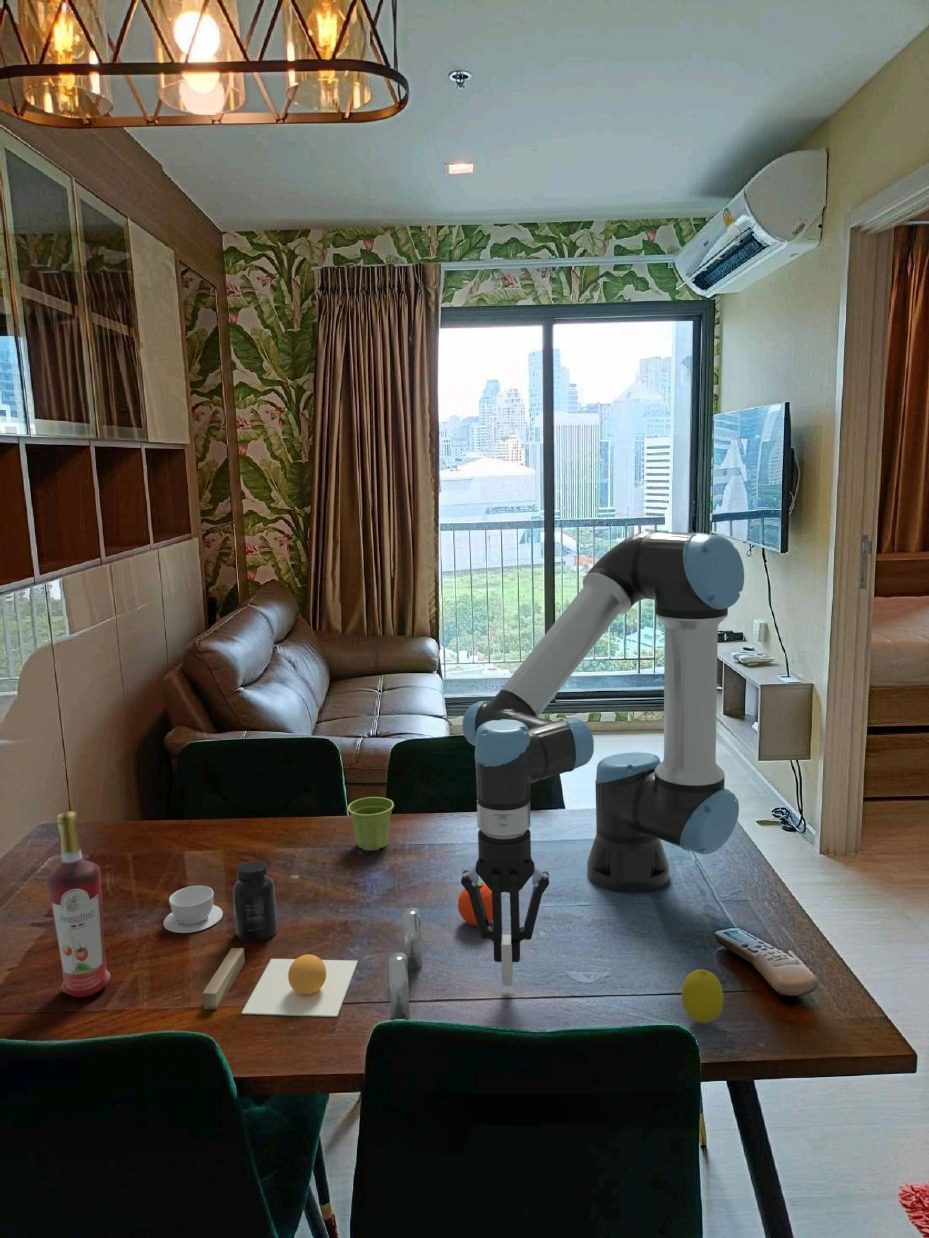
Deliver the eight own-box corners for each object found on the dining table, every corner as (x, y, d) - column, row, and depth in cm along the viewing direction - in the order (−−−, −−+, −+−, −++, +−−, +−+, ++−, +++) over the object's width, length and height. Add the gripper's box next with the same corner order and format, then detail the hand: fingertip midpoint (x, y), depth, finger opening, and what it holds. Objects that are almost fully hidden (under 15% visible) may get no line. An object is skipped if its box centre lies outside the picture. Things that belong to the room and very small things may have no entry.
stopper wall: (245, 962, 138) (243, 948, 138) (217, 1008, 126) (215, 993, 126) (232, 962, 138) (231, 947, 138) (203, 1008, 127) (202, 992, 126)
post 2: (423, 960, 137) (420, 907, 136) (420, 970, 135) (418, 916, 133) (406, 960, 137) (404, 907, 136) (404, 969, 135) (401, 916, 133)
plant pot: (393, 854, 176) (391, 813, 174) (346, 855, 176) (344, 814, 174) (397, 835, 185) (395, 796, 183) (353, 836, 185) (351, 797, 184)
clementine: (449, 915, 151) (448, 877, 150) (486, 906, 154) (485, 869, 152) (468, 937, 144) (467, 897, 142) (506, 927, 146) (505, 888, 145)
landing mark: (357, 961, 138) (357, 960, 138) (337, 1016, 124) (337, 1015, 124) (271, 959, 139) (271, 958, 139) (241, 1013, 125) (241, 1012, 125)
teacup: (234, 912, 155) (232, 887, 154) (195, 940, 146) (193, 914, 145) (191, 902, 159) (189, 878, 158) (150, 928, 150) (148, 903, 149)
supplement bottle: (285, 925, 149) (280, 860, 147) (263, 946, 143) (258, 878, 141) (250, 920, 151) (245, 855, 149) (228, 940, 145) (222, 873, 143)
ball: (303, 986, 133) (336, 973, 132) (293, 1008, 127) (327, 994, 127) (287, 954, 132) (320, 941, 132) (277, 974, 127) (311, 961, 126)
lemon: (675, 1012, 123) (676, 960, 121) (714, 1009, 123) (715, 957, 122) (689, 1037, 117) (690, 983, 116) (729, 1034, 118) (730, 979, 116)
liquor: (59, 1008, 128) (38, 828, 123) (60, 982, 134) (40, 810, 130) (113, 995, 131) (94, 819, 126) (111, 970, 137) (93, 802, 132)
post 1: (410, 1010, 125) (408, 952, 123) (408, 1021, 122) (405, 963, 121) (392, 1009, 125) (390, 952, 123) (389, 1021, 122) (386, 962, 121)
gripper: (456, 839, 121) (461, 994, 125) (550, 840, 120) (552, 996, 124) (461, 818, 128) (465, 964, 132) (549, 818, 127) (551, 966, 131)
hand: (507, 980), depth 128 cm, fingers closed
